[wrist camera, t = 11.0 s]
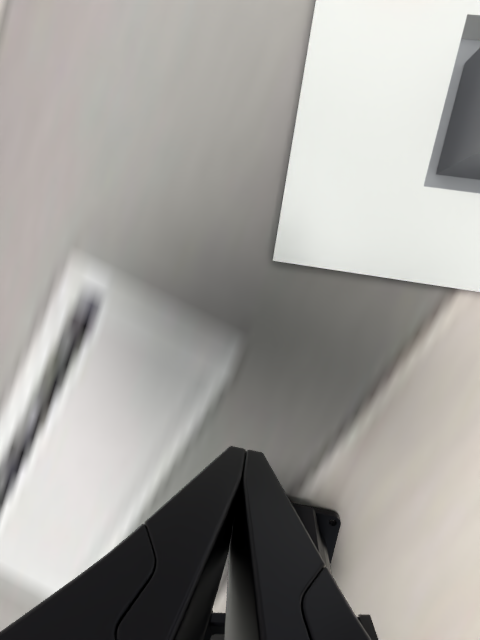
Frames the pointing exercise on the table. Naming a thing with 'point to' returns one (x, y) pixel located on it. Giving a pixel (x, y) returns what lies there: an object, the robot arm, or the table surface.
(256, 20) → the table surface
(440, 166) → the plug
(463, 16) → the socket plate
